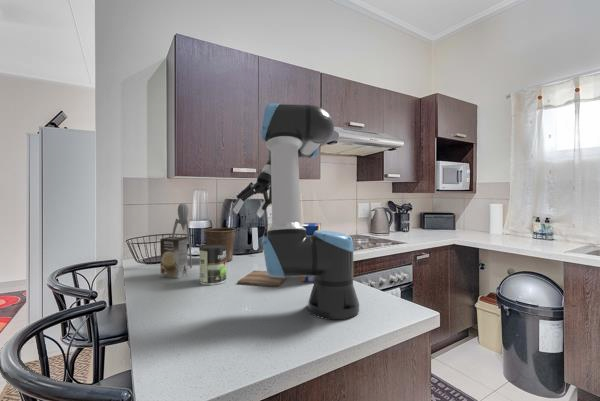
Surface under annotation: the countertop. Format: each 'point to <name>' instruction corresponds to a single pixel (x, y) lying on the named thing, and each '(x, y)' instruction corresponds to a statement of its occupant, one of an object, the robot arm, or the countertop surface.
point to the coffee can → (212, 264)
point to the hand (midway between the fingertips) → (246, 213)
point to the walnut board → (261, 279)
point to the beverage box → (309, 232)
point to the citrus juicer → (183, 223)
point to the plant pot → (221, 239)
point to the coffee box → (173, 257)
